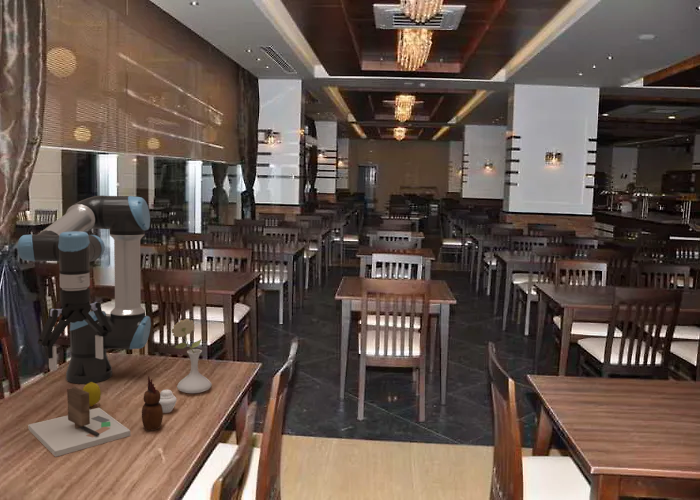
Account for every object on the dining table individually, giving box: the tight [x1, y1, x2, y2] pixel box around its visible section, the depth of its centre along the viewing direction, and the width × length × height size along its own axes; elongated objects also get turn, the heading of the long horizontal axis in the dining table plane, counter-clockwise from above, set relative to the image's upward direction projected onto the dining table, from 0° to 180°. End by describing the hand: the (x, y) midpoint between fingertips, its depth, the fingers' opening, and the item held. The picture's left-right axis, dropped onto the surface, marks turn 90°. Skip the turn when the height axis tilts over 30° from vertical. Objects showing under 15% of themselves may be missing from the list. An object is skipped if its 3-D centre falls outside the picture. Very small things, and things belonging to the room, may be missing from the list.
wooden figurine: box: [141, 375, 164, 431], centre depth 176 cm, size 7×6×15 cm
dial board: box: [27, 407, 132, 458], centre depth 173 cm, size 20×22×2 cm
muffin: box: [159, 389, 178, 414], centre depth 189 cm, size 6×6×7 cm
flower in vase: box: [171, 318, 212, 394], centre depth 206 cm, size 13×11×25 cm
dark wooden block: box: [66, 386, 99, 436], centre depth 170 cm, size 2×13×10 cm, turn 54°
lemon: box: [82, 382, 102, 408], centre depth 191 cm, size 6×6×8 cm
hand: (76, 363), depth 170 cm, fingers open, 13 cm apart
